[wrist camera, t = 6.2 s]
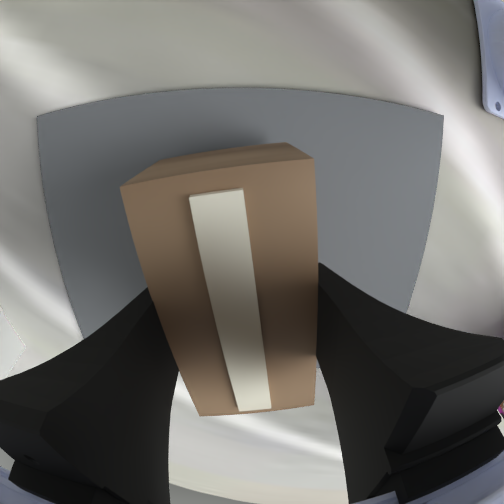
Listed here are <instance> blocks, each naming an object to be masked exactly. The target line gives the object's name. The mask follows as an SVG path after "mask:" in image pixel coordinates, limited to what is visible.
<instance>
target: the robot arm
mask: <svg viewBox="0 0 504 504" xmlns="http://www.w3.org/2000/svg"><path fill="white" fill-rule="evenodd" d="M474 5H475V11H476V17H477V23H478V31H479V39H480V49H481V62H482V86H483V106H484V109H485V110H486V111H487V112H489V113H491V114H493V115H495V116H498V117H500V118H502V119H504V2H502V1H501V0H474ZM495 104H496V107H495ZM316 358H317V360H318V363H319V366H320V369H321V371H322V374H323V377H324V380H325V382H326V385H327V388H328V391H329V395H330V398H331V402H332V407H333V411H334V416H335V420H336V425H337V430H338V435H339V440H340V445H341V451H342V457H343V463H344V469H345V476H346V484H347V491H348V500H349V504H504V437H503V435H502V433H501V431H500V429H499V428H498V426H497V425H498V424H499V423H500V422H501V416H500V415H499V413H498V411H497V409H498V408H499V406H500V405H501V403H502V402H503V401H504V340H503V339H502V338H498V337H491V336H484V335H477V334H471V333H466V332H462V331H457V330H453V329H449V328H446V327H442V326H439V325H435V324H432V323H429V322H427V321H424V320H421V319H418V318H415V317H413V316H410V315H408V314H406V313H403V312H401V311H399V310H397V309H395V308H393V307H390V306H388V305H386V304H384V303H382V302H381V301H379V300H377V299H375V298H374V297H372V296H370V295H368V294H367V293H365V292H363V291H362V290H360V289H359V288H357V287H355V286H354V285H352V284H351V283H349V282H348V281H346V280H345V279H344V278H342V277H341V276H339V275H338V274H336V273H335V272H334V271H332V270H331V269H329V268H328V267H326V266H325V265H324V264H322V263H318V313H317V342H316ZM178 372H179V368H178V366H177V364H176V361H175V359H174V356H173V354H172V351H171V348H170V346H169V343H168V341H167V338H166V335H165V333H164V330H163V327H162V325H161V322H160V319H159V316H158V313H157V311H156V308H155V305H154V302H153V301H152V298H151V295H150V292H149V289H148V287H147V288H146V289H145V290H143V291H142V292H141V293H140V294H139V295H138V296H137V297H136V298H134V299H133V300H132V301H131V302H130V303H129V304H128V305H126V306H125V307H124V308H123V309H122V310H121V311H120V312H118V313H117V314H116V315H115V316H114V317H112V318H111V319H110V320H109V321H107V322H106V323H105V324H104V325H103V326H101V327H100V328H99V329H98V330H96V331H95V332H94V333H92V334H91V335H89V336H88V337H87V338H85V339H84V340H82V341H81V342H79V343H78V344H76V345H75V346H73V347H71V348H70V349H68V350H66V351H64V352H63V353H61V354H59V355H57V356H56V357H54V358H52V359H50V360H48V361H46V362H44V363H42V364H40V365H38V366H36V367H34V368H32V369H29V370H27V371H25V372H22V373H20V374H17V375H14V376H11V377H8V378H5V379H2V380H0V447H1V448H2V449H3V450H4V451H5V452H6V453H7V454H8V455H9V456H11V457H12V458H13V459H14V460H15V462H14V464H13V467H12V470H11V471H9V470H7V469H5V468H3V467H1V466H0V504H170V494H169V473H168V448H169V426H170V412H171V406H172V400H173V395H174V390H175V386H176V381H177V377H178Z"/></svg>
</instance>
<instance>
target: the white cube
mask: <svg viewBox="0 0 504 504" xmlns="http://www.w3.org/2000/svg"><path fill="white" fill-rule="evenodd" d="M25 348H26V346H25V344H24V343H23V341H22V340H21V338H20V337H19V335H18V334H17V332H16V331H15V329H14V328H13V326H12V324H11V323H10V321H9V320H8V318H7V316H6V315H5V313H4V311H3V310H2V308H1V306H0V380H2V379H5V378H6V377H7V376H8V374H9V373H10V371H11V369H12V368H13V366H14V365H15V363H16V362H17V360H18V359H19V357H20V356H21V354H22V353H23V351H24V350H25Z"/></svg>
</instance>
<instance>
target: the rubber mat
mask: <svg viewBox="0 0 504 504" xmlns="http://www.w3.org/2000/svg"><path fill="white" fill-rule="evenodd" d="M443 122H444V115H440V114H436V113H433V112H429V111H425V110H421V109H417V108H413V107H409V106H404V105H400V104H395V103H390V102H385V101H380V100H375V99H369V98H363V97H357V96H350V95H343V94H335V93H327V92H317V91H306V90H293V89H276V88H206V89H188V90H175V91H165V92H155V93H147V94H139V95H132V96H125V97H119V98H113V99H108V100H102V101H97V102H92V103H87V104H83V105H78V106H74V107H70V108H66V109H62V110H58V111H54V112H50V113H47V114H43V115H40V116H37V129H38V145H39V157H40V166H41V175H42V182H43V189H44V196H45V202H46V208H47V213H48V218H49V223H50V228H51V233H52V237H53V242H54V246H55V250H56V254H57V258H58V262H59V266H60V269H61V273H62V276H63V280H64V283H65V286H66V290H67V293H68V296H69V299H70V302H71V305H72V308H73V311H74V314H75V316H76V319H77V322H78V325H79V327H80V330H81V333H82V335H83V338H84V339H85V338H87V337H88V336H89V335H91V334H92V333H94V332H95V331H96V330H98V329H99V328H100V327H101V326H103V325H104V324H105V323H106V322H107V321H109V320H110V319H111V318H112V317H114V316H115V315H116V314H117V313H118V312H120V311H121V310H122V309H123V308H124V307H125V306H126V305H128V304H129V303H130V302H131V301H132V300H133V299H134V298H136V297H137V296H138V295H139V294H140V293H141V292H142V291H143V290H145V289H146V288H147V287H148V286H147V283H146V280H145V277H144V274H143V271H142V268H141V264H140V261H139V258H138V254H137V251H136V248H135V244H134V241H133V237H132V234H131V230H130V226H129V223H128V219H127V215H126V211H125V207H124V203H123V199H122V195H121V190H120V186H122V185H123V184H124V183H126V182H127V181H129V180H130V179H132V178H133V177H135V176H136V175H138V174H139V173H141V172H142V171H144V170H145V169H147V168H148V167H150V166H151V165H153V164H154V163H156V162H158V161H159V160H162V159H167V158H172V157H178V156H183V155H189V154H195V153H201V152H208V151H214V150H221V149H228V148H236V147H244V146H252V145H261V144H271V143H281V142H287V143H289V144H290V145H292V146H294V147H296V148H297V149H299V150H301V151H302V152H304V153H306V154H307V155H309V156H311V157H312V158H314V166H315V182H316V203H317V231H318V263H322V264H324V265H325V266H326V267H328V268H329V269H331V270H332V271H334V272H335V273H336V274H338V275H339V276H341V277H342V278H344V279H345V280H346V281H348V282H349V283H351V284H352V285H354V286H355V287H357V288H359V289H360V290H362V291H363V292H365V293H367V294H368V295H370V296H372V297H374V298H375V299H377V300H379V301H381V302H382V303H384V304H386V305H388V306H390V307H393V308H395V309H397V310H399V311H401V312H403V313H406V312H407V309H408V306H409V303H410V300H411V296H412V293H413V290H414V287H415V283H416V280H417V276H418V273H419V269H420V265H421V261H422V257H423V253H424V249H425V245H426V241H427V236H428V232H429V227H430V222H431V217H432V212H433V206H434V201H435V195H436V188H437V182H438V174H439V167H440V158H441V148H442V137H443ZM316 368H320V366H319V363H318V360H317V361H316Z"/></svg>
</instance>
